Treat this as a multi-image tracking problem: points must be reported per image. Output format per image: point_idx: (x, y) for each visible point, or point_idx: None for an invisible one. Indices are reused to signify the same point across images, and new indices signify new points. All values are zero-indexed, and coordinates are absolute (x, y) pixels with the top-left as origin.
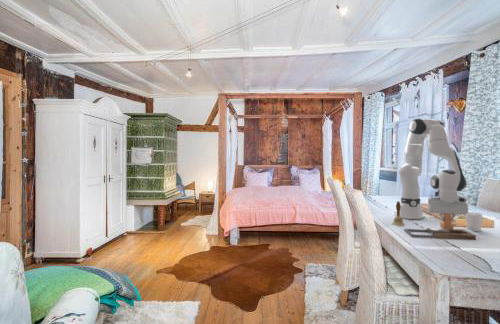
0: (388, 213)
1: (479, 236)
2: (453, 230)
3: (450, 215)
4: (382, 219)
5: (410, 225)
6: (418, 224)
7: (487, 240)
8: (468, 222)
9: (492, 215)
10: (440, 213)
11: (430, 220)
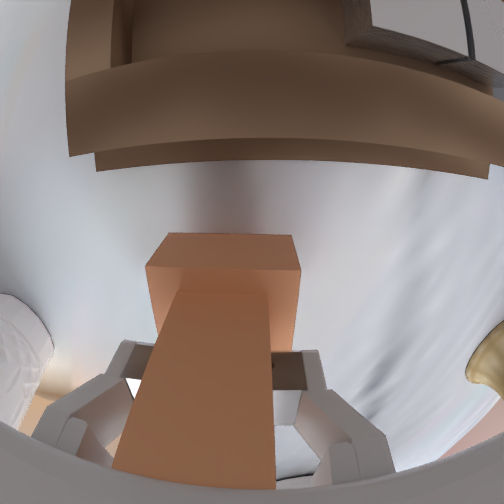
0: None
1: (6, 138)
2: (238, 50)
3: (143, 428)
4: (461, 430)
5: (428, 383)
6: None
7: (10, 28)
8: (13, 365)
9: None
10: (393, 467)
11: None
